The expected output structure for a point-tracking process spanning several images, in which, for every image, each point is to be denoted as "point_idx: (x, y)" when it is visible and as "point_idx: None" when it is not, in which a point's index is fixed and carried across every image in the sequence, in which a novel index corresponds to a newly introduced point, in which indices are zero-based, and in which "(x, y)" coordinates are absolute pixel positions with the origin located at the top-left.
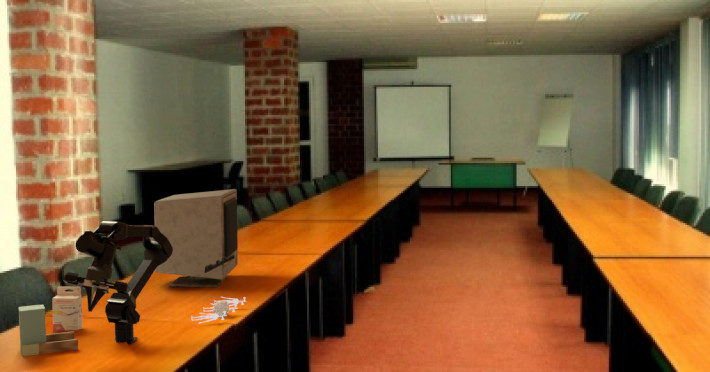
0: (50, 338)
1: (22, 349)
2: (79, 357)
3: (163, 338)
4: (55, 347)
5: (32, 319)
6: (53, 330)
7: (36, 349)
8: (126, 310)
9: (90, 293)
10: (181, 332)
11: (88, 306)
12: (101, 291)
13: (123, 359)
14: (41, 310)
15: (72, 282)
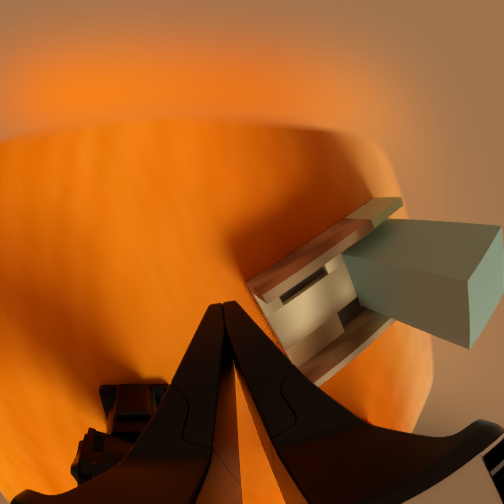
0: (363, 331)
1: (393, 197)
2: (211, 214)
3: (48, 437)
4: (320, 245)
5: (454, 245)
6: (370, 423)
7: (364, 215)
8: (80, 466)
9: (294, 436)
10: (46, 474)
11: (246, 321)
12: (89, 492)
13: (40, 202)
14: (467, 271)
15: (499, 456)
